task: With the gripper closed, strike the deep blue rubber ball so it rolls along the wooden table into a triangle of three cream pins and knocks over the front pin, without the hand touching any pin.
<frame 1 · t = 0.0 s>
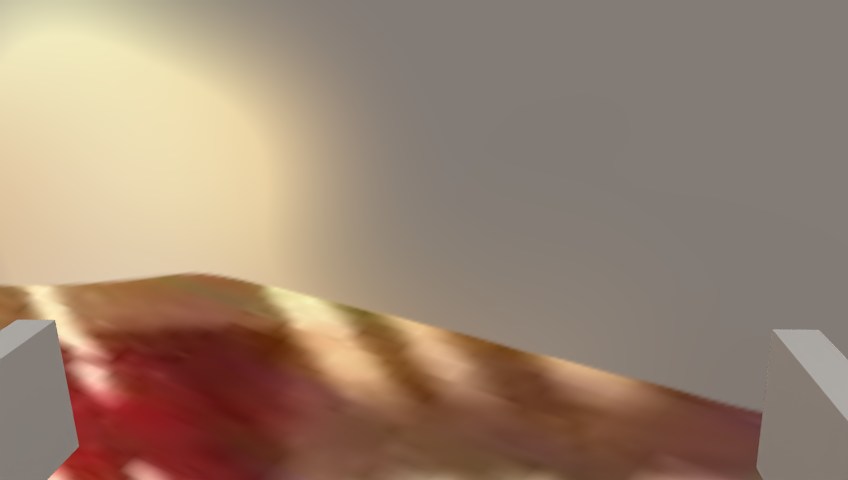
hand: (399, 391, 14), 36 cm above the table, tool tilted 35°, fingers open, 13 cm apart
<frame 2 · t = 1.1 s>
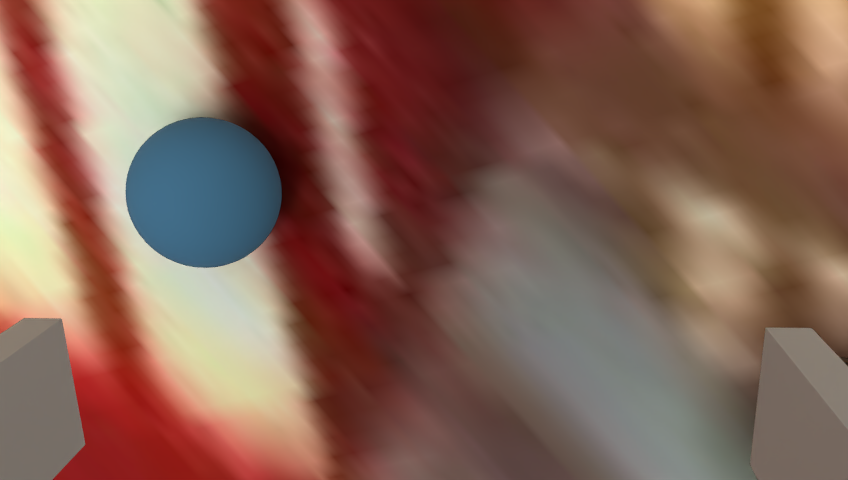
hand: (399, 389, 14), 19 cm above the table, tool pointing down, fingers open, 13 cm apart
ball: (205, 192, 30), on the table
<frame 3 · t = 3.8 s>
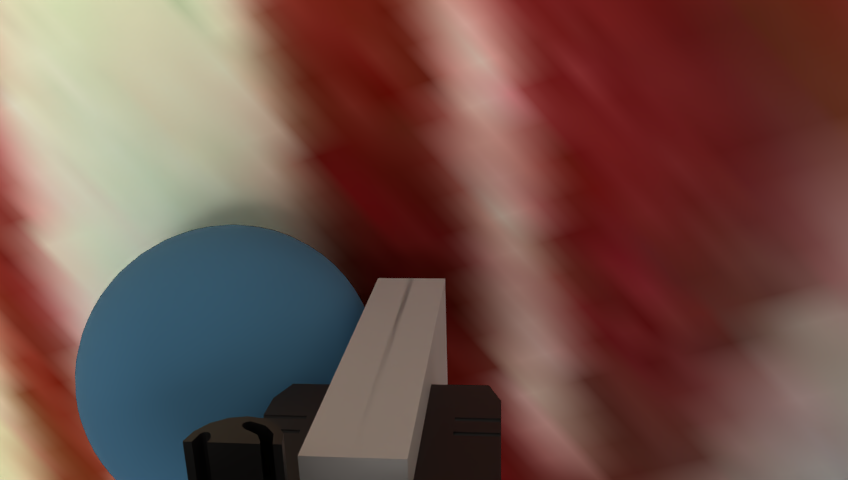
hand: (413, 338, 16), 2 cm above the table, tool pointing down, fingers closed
ball: (233, 368, 16), on the table, touching gripper
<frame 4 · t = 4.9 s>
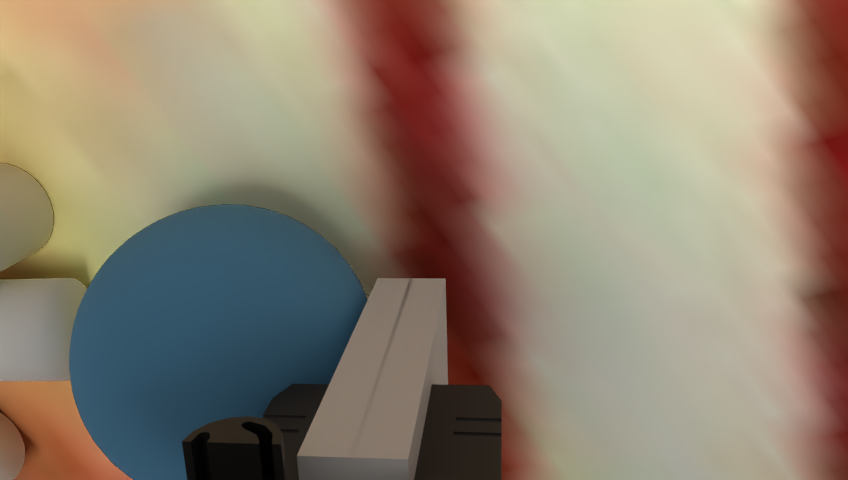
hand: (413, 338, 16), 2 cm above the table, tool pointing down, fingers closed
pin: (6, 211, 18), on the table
ball: (230, 350, 16), on the table, touching gripper
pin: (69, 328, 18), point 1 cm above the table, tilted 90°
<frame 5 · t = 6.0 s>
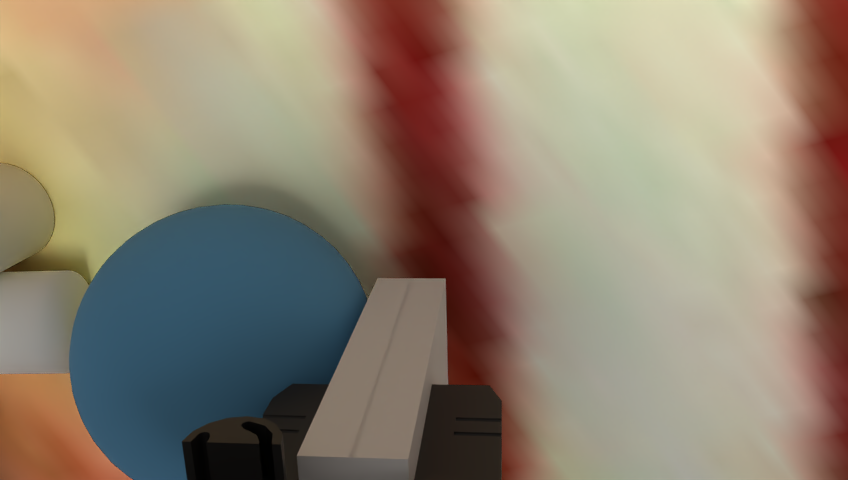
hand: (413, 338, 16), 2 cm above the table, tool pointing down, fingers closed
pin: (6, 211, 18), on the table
ball: (230, 350, 16), on the table, touching gripper
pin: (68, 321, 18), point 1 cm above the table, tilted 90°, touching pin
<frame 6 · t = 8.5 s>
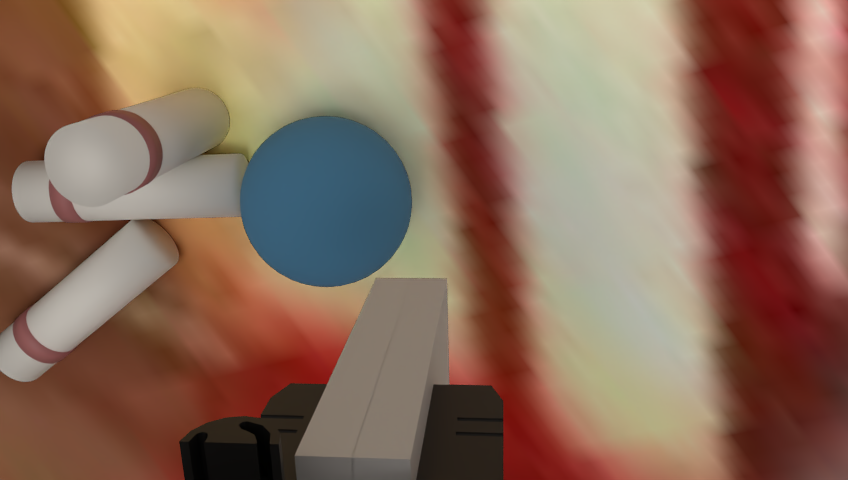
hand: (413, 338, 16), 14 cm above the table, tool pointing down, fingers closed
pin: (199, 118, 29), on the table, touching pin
ball: (327, 202, 27), on the table
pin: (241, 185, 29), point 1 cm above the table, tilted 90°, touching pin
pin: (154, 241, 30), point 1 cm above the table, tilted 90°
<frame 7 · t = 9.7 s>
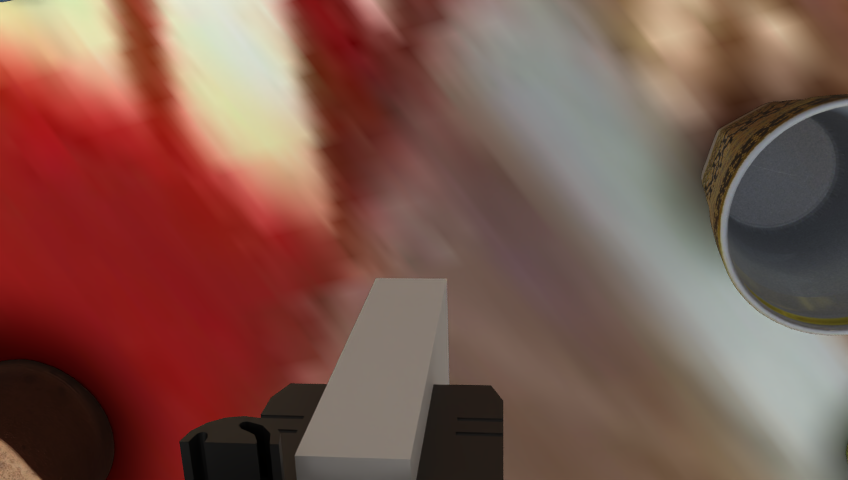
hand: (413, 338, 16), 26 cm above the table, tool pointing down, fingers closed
pitcher: (42, 431, 50), on the table
ceramic cup: (794, 173, 40), on the table
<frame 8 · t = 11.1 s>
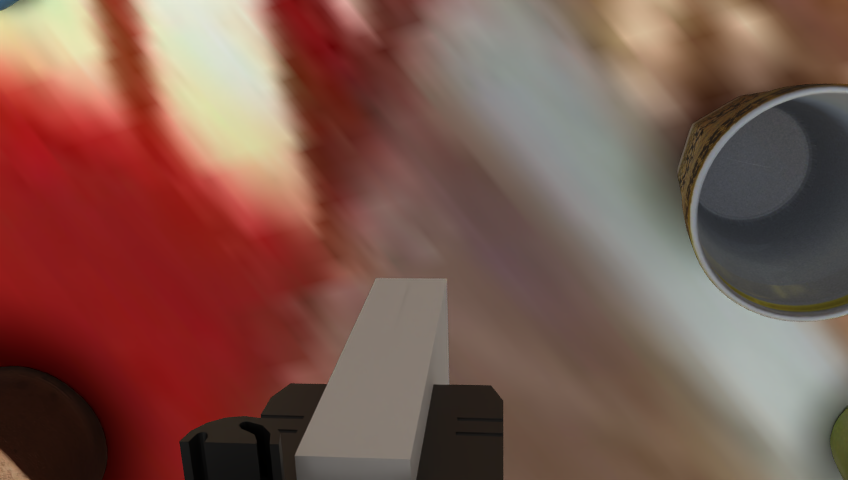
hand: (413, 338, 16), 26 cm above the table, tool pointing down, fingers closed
pitcher: (36, 437, 50), on the table
ceramic cup: (769, 165, 40), on the table
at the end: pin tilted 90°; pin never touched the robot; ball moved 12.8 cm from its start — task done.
